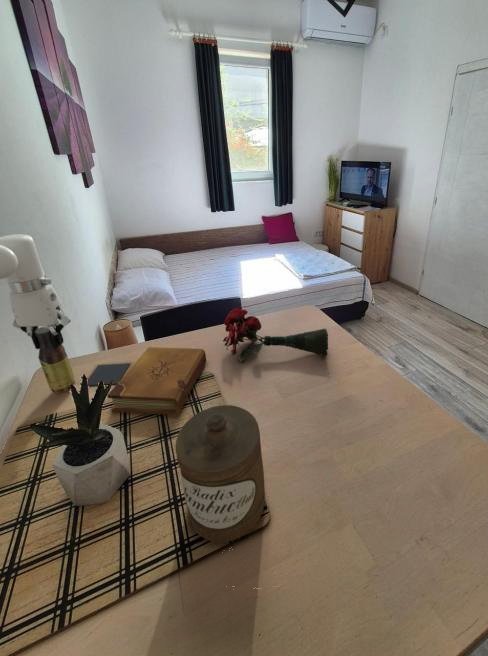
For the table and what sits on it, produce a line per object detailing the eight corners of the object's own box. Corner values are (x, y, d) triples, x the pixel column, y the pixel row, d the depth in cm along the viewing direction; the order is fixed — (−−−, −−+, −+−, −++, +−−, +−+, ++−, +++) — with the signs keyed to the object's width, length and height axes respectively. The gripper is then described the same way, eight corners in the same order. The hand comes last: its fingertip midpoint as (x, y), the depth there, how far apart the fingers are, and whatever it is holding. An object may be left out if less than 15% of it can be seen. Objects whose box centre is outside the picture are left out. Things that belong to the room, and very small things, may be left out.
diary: (179, 415, 85) (176, 398, 83) (111, 412, 87) (107, 395, 84) (206, 363, 106) (204, 348, 104) (151, 361, 108) (148, 346, 105)
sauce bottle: (52, 383, 96) (32, 325, 89) (77, 378, 99) (59, 320, 91) (48, 397, 91) (26, 336, 83) (74, 391, 93) (55, 331, 86)
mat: (83, 386, 97) (83, 385, 96) (98, 365, 106) (98, 365, 106) (118, 384, 97) (117, 383, 97) (130, 364, 106) (130, 363, 106)
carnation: (323, 369, 115) (223, 366, 114) (321, 320, 123) (228, 317, 122) (330, 358, 101) (217, 355, 100) (327, 303, 109) (223, 300, 108)
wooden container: (177, 541, 58) (156, 452, 49) (202, 466, 71) (189, 386, 63) (259, 546, 57) (253, 456, 48) (269, 469, 70) (265, 389, 62)
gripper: (71, 277, 86) (88, 337, 93) (4, 280, 85) (26, 340, 92) (54, 288, 79) (75, 351, 86) (-19, 291, 78) (8, 355, 85)
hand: (49, 345), depth 89 cm, fingers closed on sauce bottle, 4 cm apart
